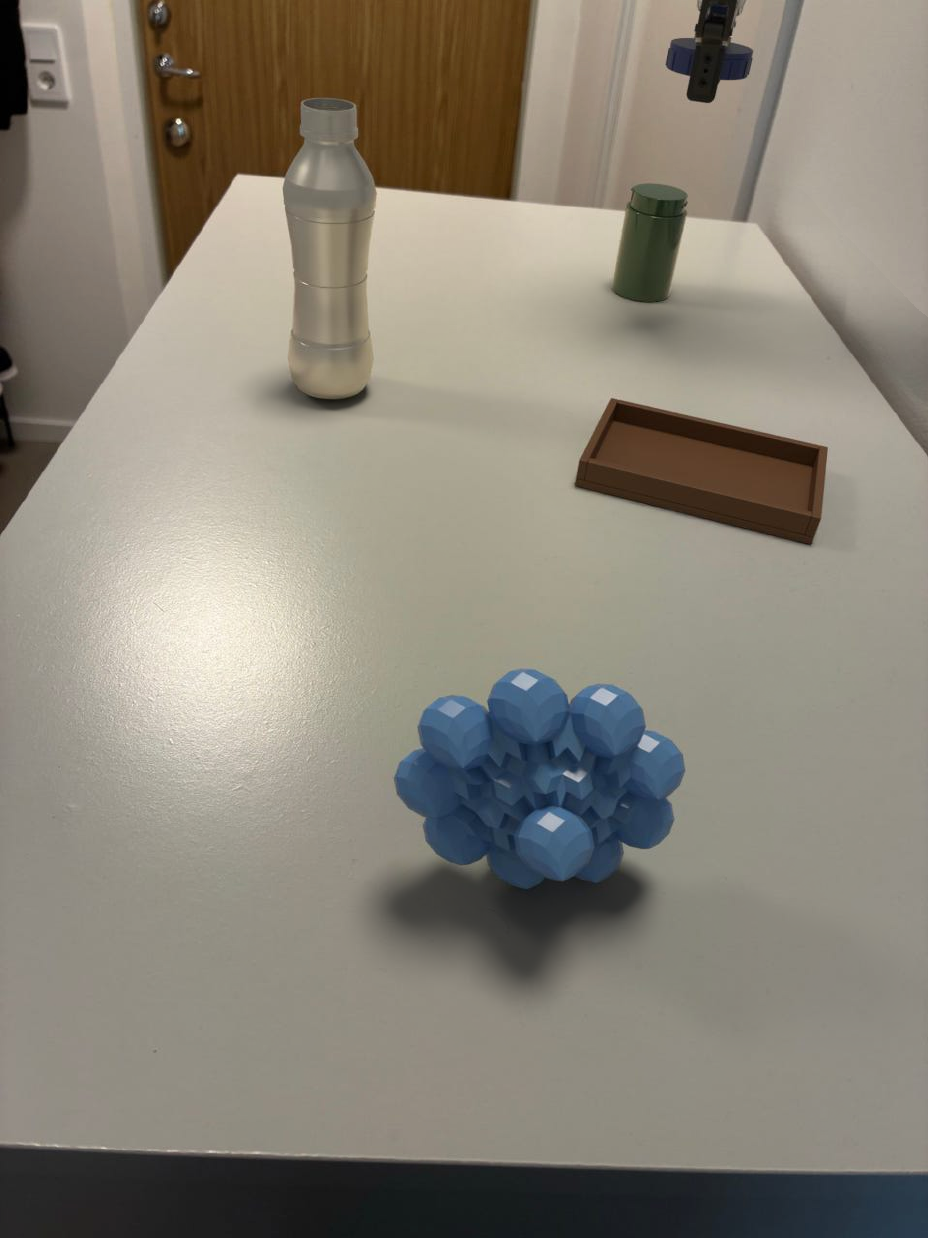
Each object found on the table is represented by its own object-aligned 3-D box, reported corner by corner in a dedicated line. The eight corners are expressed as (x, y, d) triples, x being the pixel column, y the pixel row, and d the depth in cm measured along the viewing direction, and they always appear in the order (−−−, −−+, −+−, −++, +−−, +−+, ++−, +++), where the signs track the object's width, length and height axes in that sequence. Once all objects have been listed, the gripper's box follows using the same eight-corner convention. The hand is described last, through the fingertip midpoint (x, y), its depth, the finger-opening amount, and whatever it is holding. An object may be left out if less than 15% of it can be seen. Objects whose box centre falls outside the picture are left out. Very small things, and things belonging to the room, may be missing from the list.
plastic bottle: (274, 399, 72) (258, 106, 59) (311, 364, 77) (304, 87, 64) (353, 417, 71) (355, 122, 58) (385, 380, 76) (393, 101, 63)
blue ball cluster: (392, 975, 37) (404, 773, 29) (387, 833, 42) (396, 629, 35) (679, 962, 39) (762, 766, 31) (640, 826, 44) (703, 629, 36)
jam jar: (673, 286, 97) (695, 188, 91) (663, 306, 93) (686, 205, 87) (618, 275, 98) (636, 178, 92) (606, 294, 94) (623, 193, 88)
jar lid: (656, 70, 74) (661, 44, 73) (678, 59, 79) (682, 34, 78) (737, 84, 72) (743, 57, 71) (754, 71, 77) (760, 46, 76)
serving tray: (818, 471, 70) (828, 446, 69) (811, 544, 63) (821, 518, 61) (606, 422, 74) (610, 397, 72) (574, 485, 66) (579, 459, 65)
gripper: (712, -179, 72) (665, 71, 83) (698, -186, 61) (646, 103, 72) (812, -170, 71) (752, 82, 81) (817, -175, 60) (746, 117, 71)
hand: (702, 91), depth 77 cm, fingers closed on jar lid, 6 cm apart
